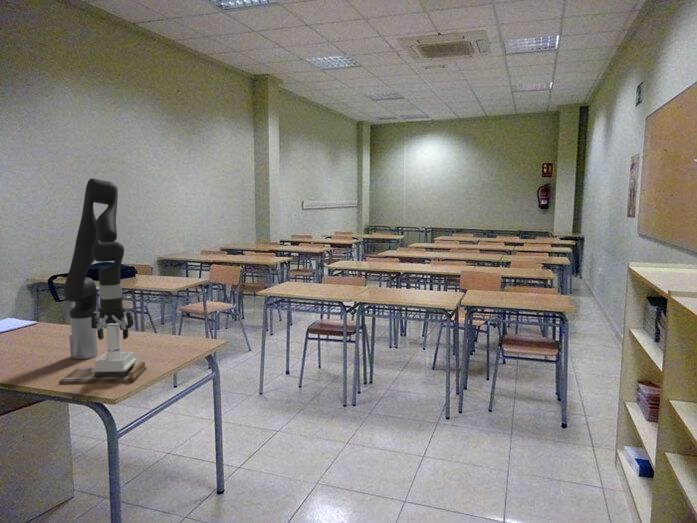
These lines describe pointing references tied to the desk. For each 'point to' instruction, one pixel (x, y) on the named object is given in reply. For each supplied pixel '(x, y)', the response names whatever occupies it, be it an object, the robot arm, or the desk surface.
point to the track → (103, 376)
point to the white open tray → (114, 364)
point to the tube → (113, 341)
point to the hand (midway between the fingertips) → (113, 339)
